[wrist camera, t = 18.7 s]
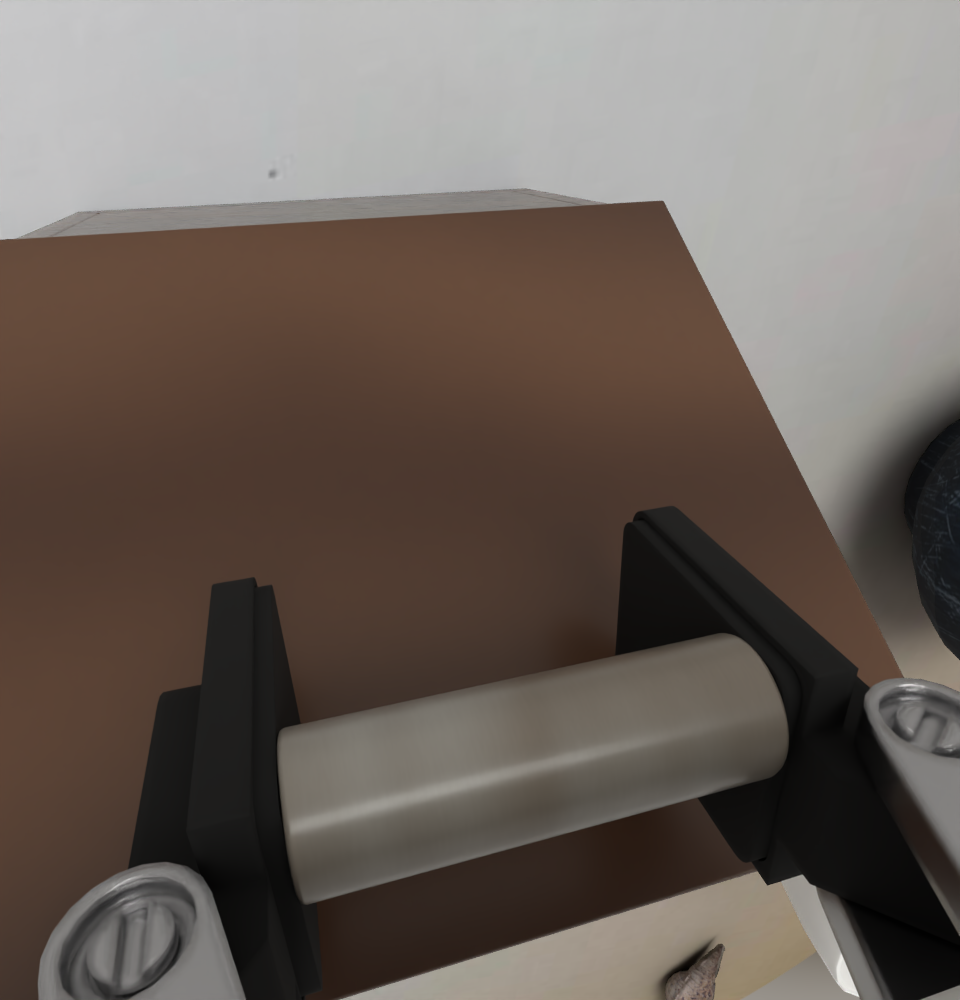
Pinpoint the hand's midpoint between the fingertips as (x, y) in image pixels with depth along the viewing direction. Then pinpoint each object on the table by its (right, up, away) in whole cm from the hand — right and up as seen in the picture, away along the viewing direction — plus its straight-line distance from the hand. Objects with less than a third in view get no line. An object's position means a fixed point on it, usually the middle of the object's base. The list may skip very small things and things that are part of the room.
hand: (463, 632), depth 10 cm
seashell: (+17, -35, +46) cm, 61 cm away
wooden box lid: (-1, +2, +3) cm, 4 cm away
